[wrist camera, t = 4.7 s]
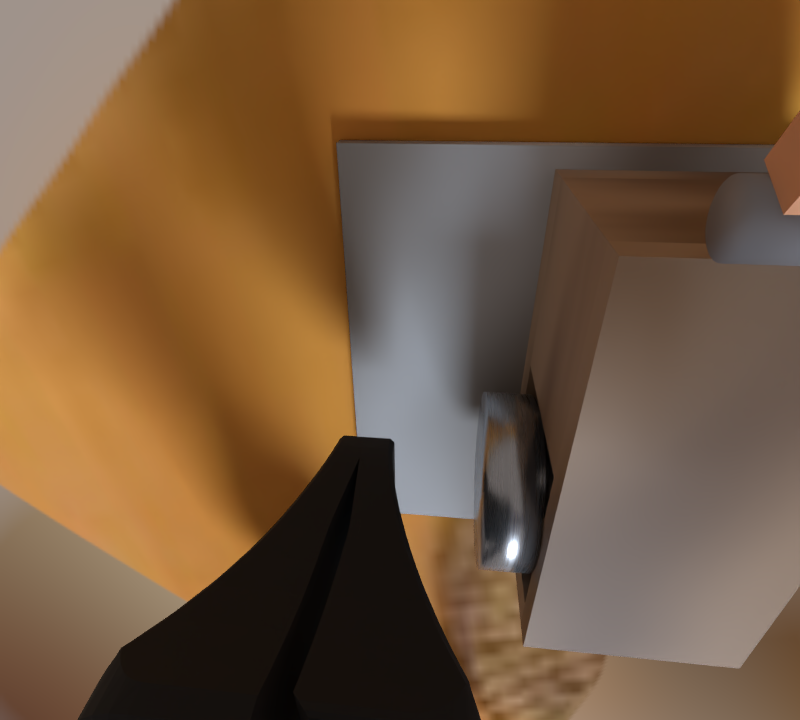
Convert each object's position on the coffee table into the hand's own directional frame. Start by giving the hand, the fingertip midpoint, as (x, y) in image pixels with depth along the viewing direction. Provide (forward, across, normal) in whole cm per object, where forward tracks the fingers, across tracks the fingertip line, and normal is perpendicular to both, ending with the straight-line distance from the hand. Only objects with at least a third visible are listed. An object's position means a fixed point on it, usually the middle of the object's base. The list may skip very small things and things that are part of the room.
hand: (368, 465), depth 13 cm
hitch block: (+3, -5, -1) cm, 6 cm away
